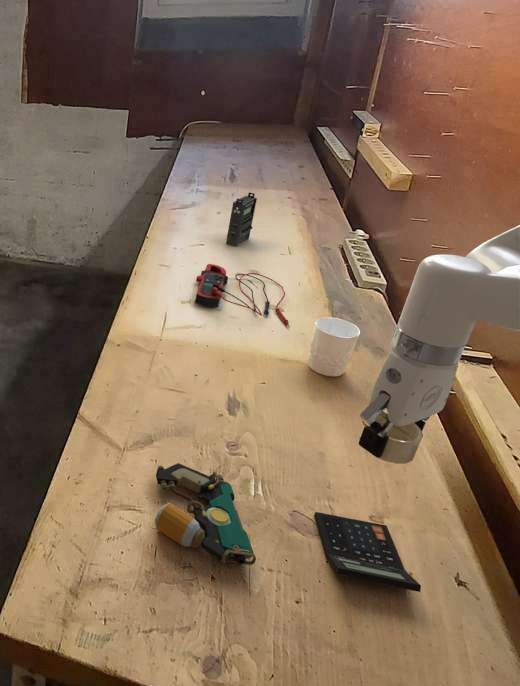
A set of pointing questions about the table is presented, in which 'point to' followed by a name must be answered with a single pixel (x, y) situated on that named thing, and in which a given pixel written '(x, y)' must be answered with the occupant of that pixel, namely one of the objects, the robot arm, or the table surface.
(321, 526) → the calculator
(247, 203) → the geiger counter
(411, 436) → the bowl
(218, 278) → the digital clamp meter
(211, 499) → the spray gun
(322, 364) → the white cup
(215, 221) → the table surface
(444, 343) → the robot arm
